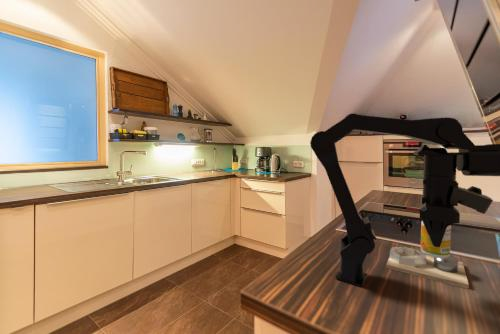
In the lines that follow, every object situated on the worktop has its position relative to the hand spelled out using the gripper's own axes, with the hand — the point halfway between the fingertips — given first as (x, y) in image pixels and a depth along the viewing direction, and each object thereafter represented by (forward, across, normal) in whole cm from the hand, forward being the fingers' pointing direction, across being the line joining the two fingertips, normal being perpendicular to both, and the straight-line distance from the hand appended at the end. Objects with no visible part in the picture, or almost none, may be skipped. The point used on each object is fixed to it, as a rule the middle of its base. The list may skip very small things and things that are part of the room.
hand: (436, 242), depth 54 cm
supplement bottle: (+3, 0, 0) cm, 3 cm away
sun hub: (+12, +13, -2) cm, 18 cm away
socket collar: (+12, +13, +6) cm, 18 cm away
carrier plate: (+12, +13, +2) cm, 18 cm away
